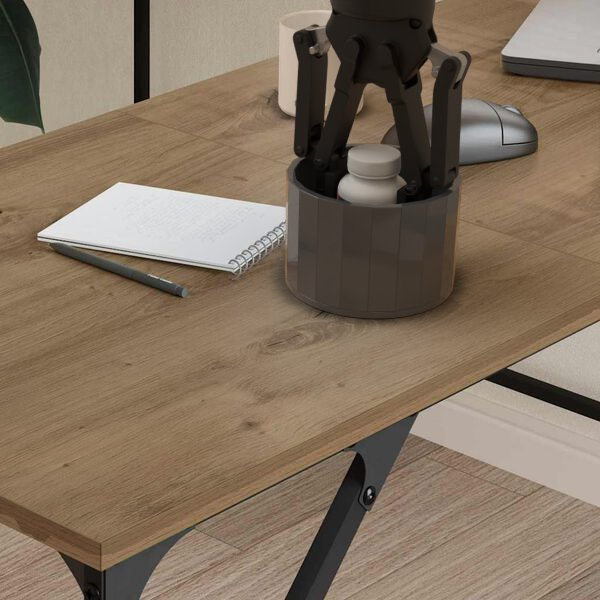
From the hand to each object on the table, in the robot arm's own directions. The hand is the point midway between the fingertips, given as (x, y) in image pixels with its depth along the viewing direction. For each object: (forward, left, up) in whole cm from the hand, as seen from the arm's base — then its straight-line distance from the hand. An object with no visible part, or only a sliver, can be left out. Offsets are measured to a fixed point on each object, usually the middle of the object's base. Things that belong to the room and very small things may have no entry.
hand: (369, 254), depth 104 cm
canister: (0, 0, -2) cm, 2 cm away
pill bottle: (0, 0, -2) cm, 2 cm away
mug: (+33, +24, -2) cm, 41 cm away
